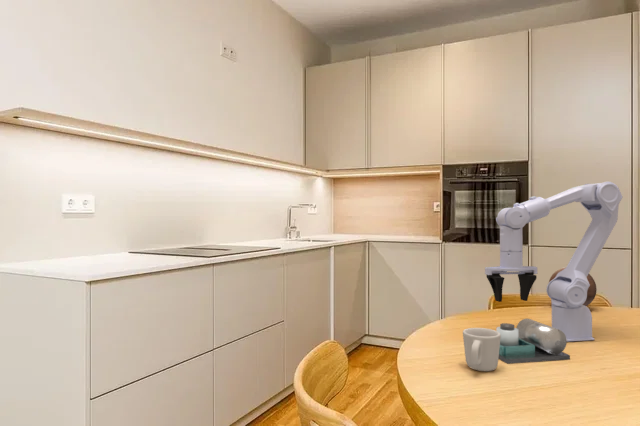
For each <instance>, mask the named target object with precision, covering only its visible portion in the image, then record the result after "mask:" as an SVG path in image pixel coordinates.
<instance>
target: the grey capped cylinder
mask: <svg viewBox="0 0 640 426" xmlns="http://www.w3.org/2000/svg"><path fill="white" fill-rule="evenodd" d="M495 331H497V332H499V333H500V335H501V338H500V345H502V346H519V337H518V329H517V328H516V327H515V324H513V323H507V322H503V323H500V325H499V326H497V327H496V330H495Z"/></svg>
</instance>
